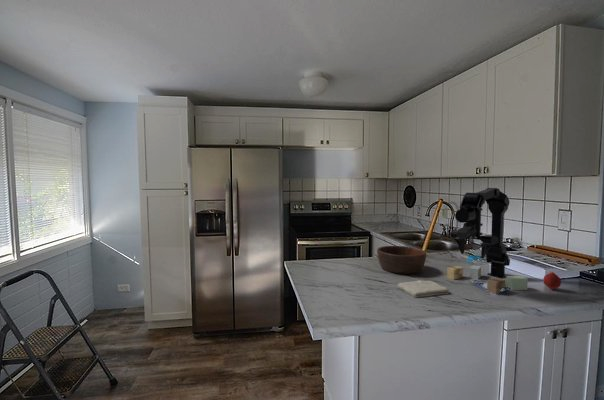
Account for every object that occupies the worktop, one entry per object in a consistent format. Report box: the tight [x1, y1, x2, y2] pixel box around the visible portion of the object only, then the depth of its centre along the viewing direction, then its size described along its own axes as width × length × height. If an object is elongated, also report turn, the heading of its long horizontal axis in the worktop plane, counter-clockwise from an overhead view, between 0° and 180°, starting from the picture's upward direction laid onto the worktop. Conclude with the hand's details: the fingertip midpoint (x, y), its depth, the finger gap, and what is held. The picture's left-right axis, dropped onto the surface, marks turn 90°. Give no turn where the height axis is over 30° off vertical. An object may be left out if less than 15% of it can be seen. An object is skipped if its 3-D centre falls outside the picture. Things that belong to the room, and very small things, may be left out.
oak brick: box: [446, 265, 464, 280], centre depth 141 cm, size 7×4×5 cm, turn 118°
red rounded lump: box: [542, 270, 562, 291], centre depth 125 cm, size 6×6×8 cm
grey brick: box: [469, 264, 482, 280], centre depth 142 cm, size 7×4×5 cm, turn 138°
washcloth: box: [396, 279, 450, 299], centre depth 123 cm, size 12×18×3 cm, turn 107°
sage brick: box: [505, 275, 529, 291], centre depth 126 cm, size 7×4×5 cm, turn 93°
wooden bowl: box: [376, 245, 427, 275], centre depth 156 cm, size 25×25×10 cm
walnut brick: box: [486, 277, 506, 295], centre depth 123 cm, size 7×4×5 cm, turn 118°
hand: (472, 255), depth 128 cm, fingers open, 9 cm apart
